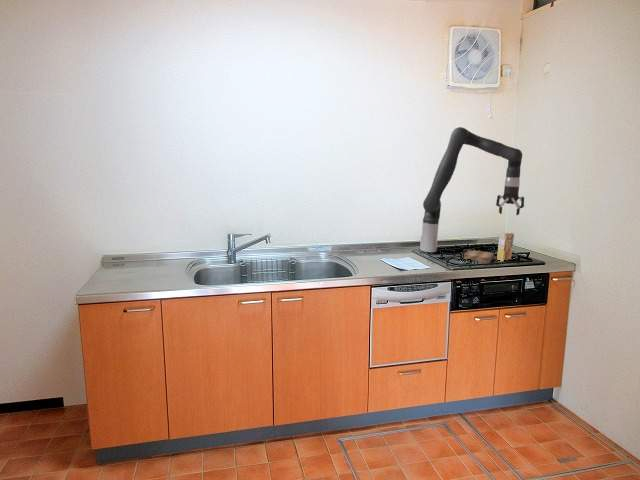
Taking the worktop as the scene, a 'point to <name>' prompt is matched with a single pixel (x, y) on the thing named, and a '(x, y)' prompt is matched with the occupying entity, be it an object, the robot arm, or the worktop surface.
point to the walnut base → (479, 256)
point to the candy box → (505, 246)
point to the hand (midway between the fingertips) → (508, 214)
